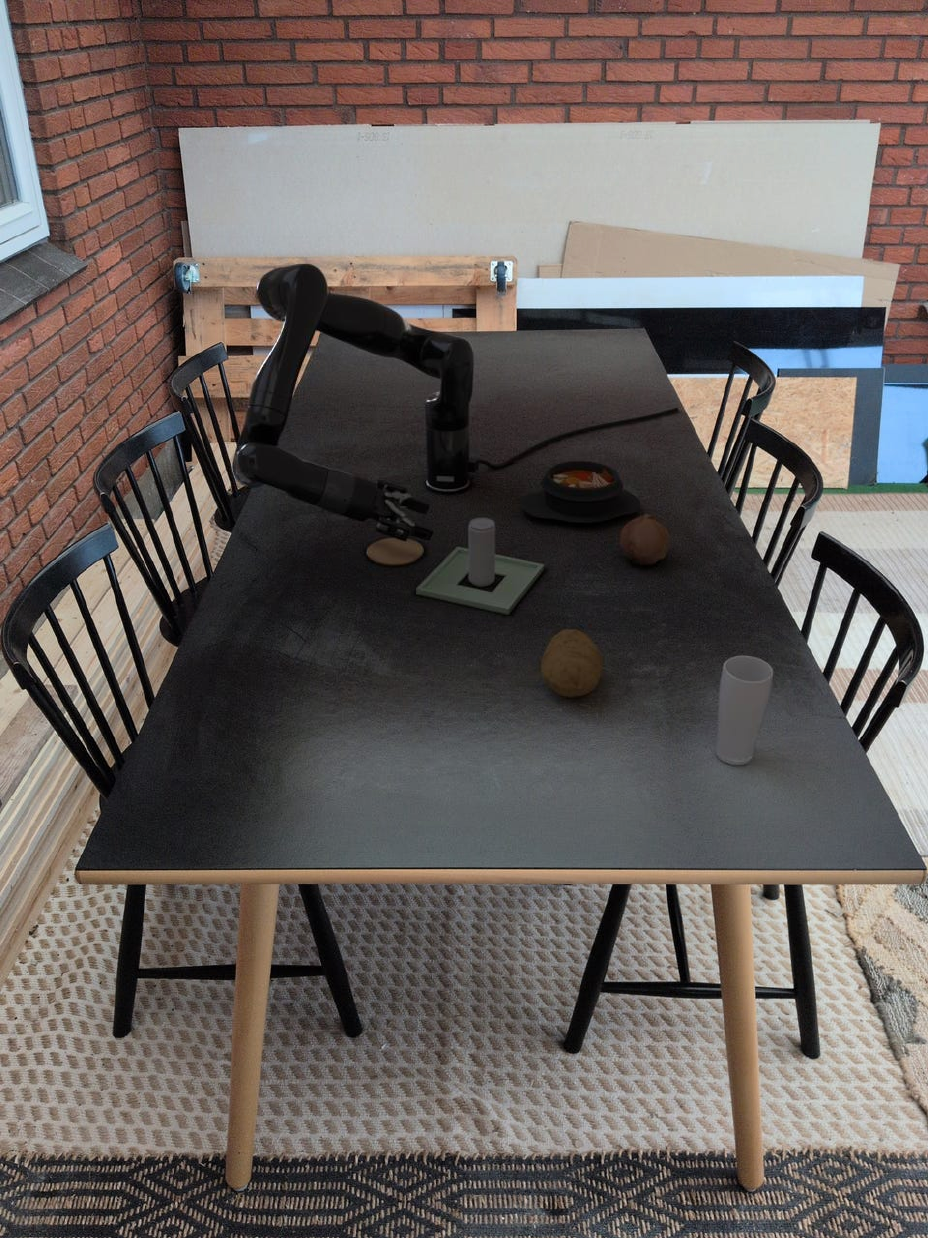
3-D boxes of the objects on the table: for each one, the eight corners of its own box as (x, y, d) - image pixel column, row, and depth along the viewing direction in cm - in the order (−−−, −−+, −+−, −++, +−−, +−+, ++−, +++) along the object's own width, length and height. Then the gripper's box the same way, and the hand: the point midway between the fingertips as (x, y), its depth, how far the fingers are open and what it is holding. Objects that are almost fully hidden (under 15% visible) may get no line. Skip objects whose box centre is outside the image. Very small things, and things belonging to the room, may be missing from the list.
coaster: (383, 535, 207) (383, 533, 207) (433, 545, 204) (433, 543, 203) (356, 558, 199) (356, 557, 199) (407, 570, 195) (407, 568, 195)
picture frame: (457, 551, 201) (457, 546, 201) (544, 569, 195) (544, 564, 194) (416, 594, 187) (416, 588, 187) (508, 614, 181) (508, 609, 180)
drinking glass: (703, 742, 150) (716, 655, 142) (749, 739, 151) (764, 653, 143) (717, 772, 145) (731, 684, 137) (764, 769, 145) (781, 681, 137)
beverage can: (492, 589, 189) (492, 530, 182) (466, 586, 190) (466, 527, 183) (496, 576, 193) (497, 518, 187) (471, 574, 194) (471, 516, 187)
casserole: (627, 490, 226) (631, 454, 221) (649, 528, 210) (653, 490, 206) (514, 495, 224) (515, 459, 219) (528, 534, 208) (529, 495, 203)
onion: (637, 565, 203) (643, 514, 202) (677, 569, 196) (682, 516, 195) (606, 563, 196) (612, 510, 195) (646, 567, 189) (652, 512, 189)
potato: (597, 661, 168) (601, 619, 164) (605, 712, 156) (609, 669, 152) (537, 660, 169) (539, 618, 165) (540, 711, 157) (542, 668, 153)
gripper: (354, 499, 175) (441, 527, 180) (352, 456, 186) (435, 484, 191) (338, 533, 179) (424, 560, 184) (337, 489, 190) (419, 516, 195)
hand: (429, 521), depth 188 cm, fingers open, 8 cm apart
